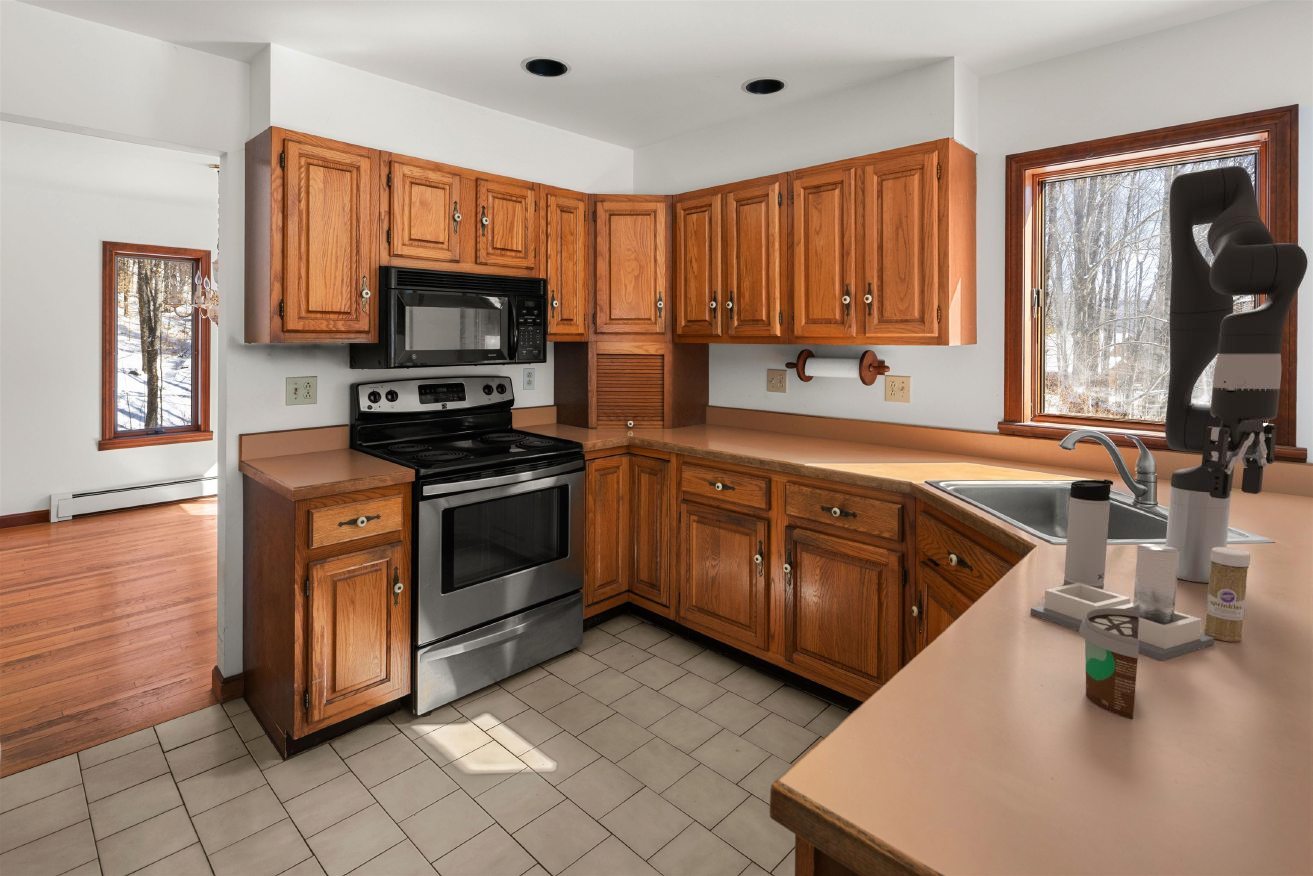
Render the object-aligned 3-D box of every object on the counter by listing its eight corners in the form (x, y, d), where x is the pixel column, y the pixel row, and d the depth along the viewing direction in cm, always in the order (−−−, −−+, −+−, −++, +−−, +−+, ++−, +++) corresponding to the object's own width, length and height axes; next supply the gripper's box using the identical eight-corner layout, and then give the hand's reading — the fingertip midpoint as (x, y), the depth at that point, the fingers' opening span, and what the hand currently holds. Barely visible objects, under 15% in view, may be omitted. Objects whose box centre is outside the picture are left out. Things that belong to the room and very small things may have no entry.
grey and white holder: (1081, 602, 122) (1082, 579, 121) (1213, 644, 104) (1215, 618, 103) (1030, 614, 116) (1031, 590, 115) (1161, 660, 98) (1163, 633, 98)
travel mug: (1111, 593, 126) (1119, 483, 124) (1071, 591, 127) (1078, 482, 125) (1097, 582, 132) (1104, 477, 130) (1058, 580, 133) (1065, 476, 131)
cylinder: (1143, 625, 108) (1150, 542, 107) (1179, 636, 104) (1187, 550, 103) (1123, 630, 106) (1130, 546, 105) (1159, 642, 102) (1166, 554, 100)
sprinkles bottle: (1209, 640, 105) (1217, 552, 104) (1199, 629, 109) (1206, 544, 108) (1247, 644, 103) (1256, 555, 102) (1235, 633, 108) (1243, 547, 106)
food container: (1078, 672, 95) (1083, 600, 93) (1134, 684, 91) (1139, 609, 90) (1070, 709, 84) (1076, 629, 83) (1132, 724, 81) (1139, 641, 80)
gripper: (1242, 384, 109) (1232, 487, 110) (1188, 385, 103) (1179, 495, 104) (1303, 385, 102) (1291, 496, 104) (1249, 387, 96) (1238, 504, 98)
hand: (1235, 495), depth 104 cm, fingers open, 8 cm apart
